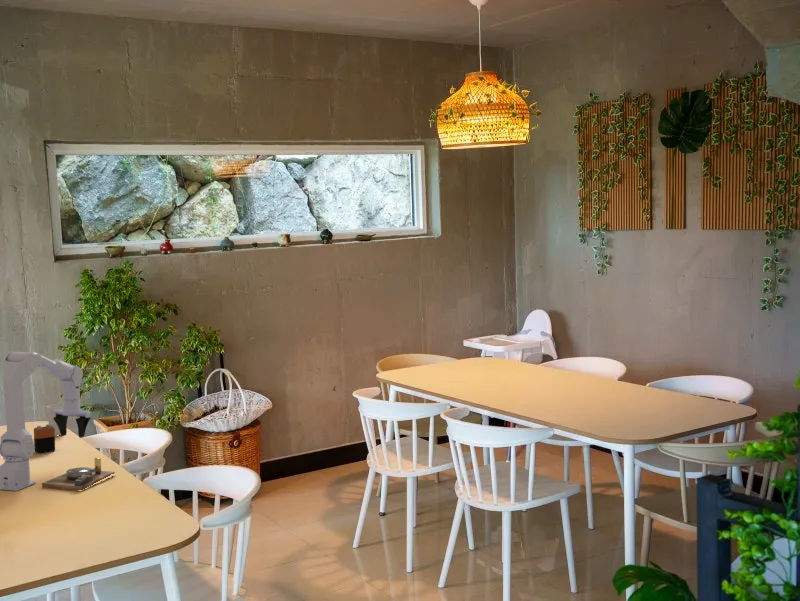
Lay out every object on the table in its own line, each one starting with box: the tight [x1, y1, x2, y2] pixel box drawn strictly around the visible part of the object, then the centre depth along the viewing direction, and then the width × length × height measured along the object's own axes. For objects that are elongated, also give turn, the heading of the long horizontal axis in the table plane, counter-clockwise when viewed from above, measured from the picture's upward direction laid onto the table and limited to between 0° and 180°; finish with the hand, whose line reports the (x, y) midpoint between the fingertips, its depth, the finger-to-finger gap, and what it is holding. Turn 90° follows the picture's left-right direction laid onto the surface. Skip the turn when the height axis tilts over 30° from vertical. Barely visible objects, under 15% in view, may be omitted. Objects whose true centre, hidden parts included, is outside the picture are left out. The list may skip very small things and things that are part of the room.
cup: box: [46, 403, 63, 437], centre depth 353 cm, size 8×8×12 cm
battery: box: [33, 423, 56, 454], centre depth 327 cm, size 4×7×10 cm, turn 123°
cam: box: [66, 457, 102, 480], centre depth 288 cm, size 12×8×5 cm
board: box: [41, 470, 116, 491], centre depth 287 cm, size 18×15×4 cm
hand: (72, 436), depth 309 cm, fingers open, 7 cm apart
